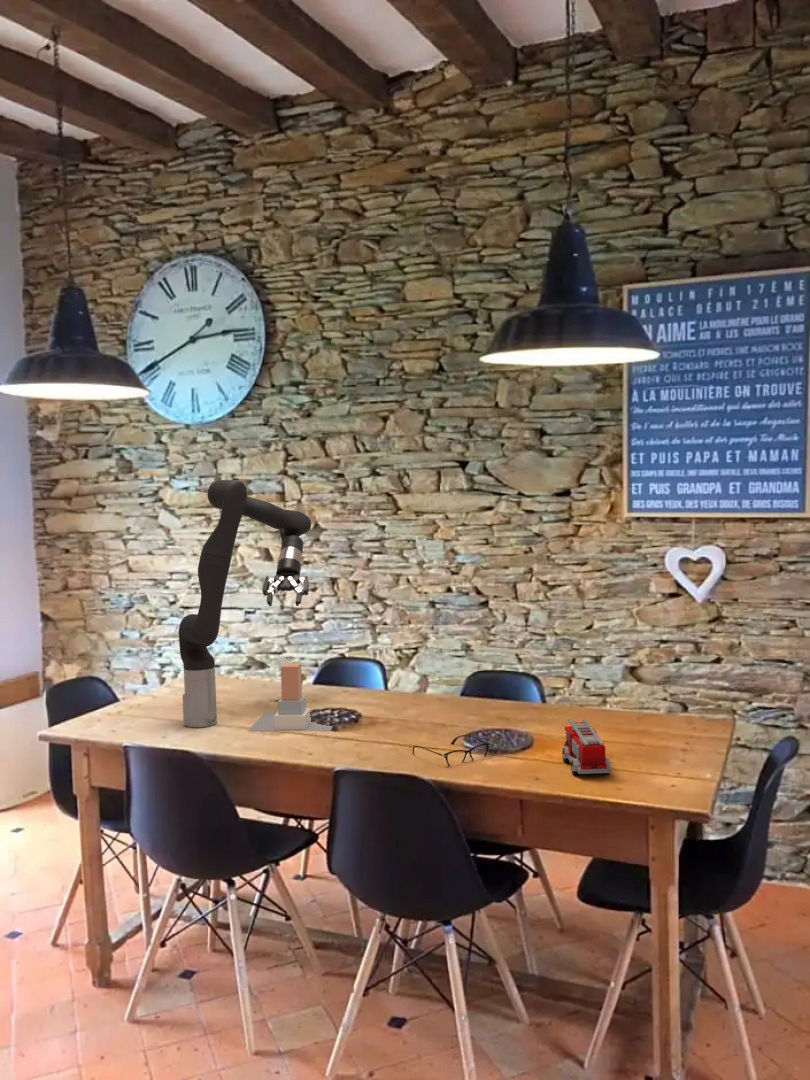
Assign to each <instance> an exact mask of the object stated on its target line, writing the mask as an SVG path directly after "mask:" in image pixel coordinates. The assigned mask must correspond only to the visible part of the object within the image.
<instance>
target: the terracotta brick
mask: <svg viewBox="0 0 810 1080" xmlns="http://www.w3.org/2000/svg"><path fill="white" fill-rule="evenodd" d="M280 680H281V681H280V682H281V683H280V686H281V697H282V701H299V700H300V698H301V697H302V696H303V692H302V691H303V689H302V687H303V685H302V683H303V682H302V663H300V662H299V663H297V662H293V663H283V664H282V665H281V666H280Z"/></svg>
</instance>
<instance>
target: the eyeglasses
mask: <svg viewBox="0 0 810 1080" xmlns="http://www.w3.org/2000/svg"><path fill="white" fill-rule="evenodd" d="M462 737H468V738H469V737H470V738H471V739H474V740H477V741H479V742H481V743H482V744H478V745H476V746H473V747H471V748H470V749H467V750H465V749H457V750H456V749H455V750H452V751H449V752H446V753H444V754H441V753H439V752H437V751H433V750H430V749H428V748H425V747H422V746H418V745H414V746H413V747H412V755H414V754H415V748H419V749H420V748H421V749H423V750H426V751H429V752H431V753H433V754H435V755H438V756H441V757H443V758H445V762H446V764H447V765H448V766H451V764H450V763H449V761H448V760H449V759H448V756H449V755H450V754H453V753H456V752H464V755H463V758H462V761H461V764H463V763H464V762H465V760H466V757H467V756H468V757H469V758H470V759H471V760H472V761H475V759H474V758H473V756H472V751H473V750H475V749H477V748H479V747H482V746H483V747H484V746H486V750H485V752H484V755H483V758H485V757H486V756H487V754H488V750H489V748H490V746H491V744H490V743H488V742H485V741H483V740H481V739H478V738H476V737H473V736H471V735H469V734H468V735H467V734H463V735H458V736H457V737H455V738H454V739H453V740H452V741H451V742H450V745H455V743H456V742H457V740H458V739H459V738H462ZM467 754H468V755H467Z"/></svg>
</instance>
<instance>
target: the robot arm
mask: <svg viewBox="0 0 810 1080" xmlns="http://www.w3.org/2000/svg"><path fill="white" fill-rule="evenodd" d="M207 499H208V501H209V503H210V504H211V506H213V507H214V508H216V509H218V510H221V512H220V517H219V520H218V523H217V525H216V527H215V528H214V530H213V531H212V532H211V534H210V536H208V538H207V539H206V541H205V543H204V544H203V547H201V552H200V555H199V557H200V558H199V561H198V567H197V577H198V584H199V589H200V602H199V603H200V604H199V606H198V612H197V614H195V613H191V614H188V615H185V616H184V617H183V618H182V619H181V621H180V623H179V626H178V644H179V654H180V659H181V661H182V664H183V683H184V684H183V686H184V693H183V694H182V717H183V718H182V719H183V727H190V728H206V727H211V726H214V725H216V724H217V723H218V713H217V711H218V710H217V686H216V685H217V684H216V663H215V662H216V661H215V657H214V656H213V655H212V654H211V653H210V652H209V650H208V647H210V646H212V644H214V643H215V642H216V640H217V638H218V635H219V633H220V632H219V631H220V626H221V625H220V624H221V615H222V607H223V599H224V595H225V591H226V590H225V589H226V584H227V579H228V575H229V571H230V568H231V563H232V557H233V553H234V547H235V542H236V538H237V534H238V530H239V526H240V523H241V519H242V517H243V516H245V517H248V518H250V519H252V520H254V521H256V522H259V523H262V524H263V525H265V526H268V527H270V528H273V529H274V530H279V534H280V540H281V547H280V552H279V556H278V561H277V565H276V566H277V567H276V572H275V576H274V577H269V576H265V578H264V581H263V586H262V589H261V590H262V594H263V596H264V597H265V596H266V603H267V605H268V607H272V606H273V600H274V596H275V595H276V594H278V593H280V592H285V591H287V592H292V591H294V593H295V594H296V596H295V601H294V602H295V605H296V607H299V605H301V604H302V597H303V596H308V595H309V589H310V581H309V576H308V575H305V576H304V577H300V576H301V570H302V564H303V550H304V541H303V539H302V538H301V536H303V535H305V534H307V533H308V532H309V531H310V530H311V528H312V522H311V520H310V519H311V518H309V516H308V515H307V514H305V513H304V512H301V511H299V510H298V511H297V510H291V509H284V508H282V507H280V506H278V505H276V504H273V503H271V502H268V501H265V500H261V499H258V498H254V497H250V496H249V495H248V489H247V487H246V485H245V483H244V482H243V481H241V480H238V479H219V480H216V481H213V482H212V483H211V484H209V487H208V489H207ZM300 583H302V584H301V585H303V588H302V589H301V588H300V587H299V584H300ZM270 586H271V587H270Z"/></svg>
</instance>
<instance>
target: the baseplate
mask: <svg viewBox="0 0 810 1080" xmlns="http://www.w3.org/2000/svg"><path fill="white" fill-rule="evenodd" d="M277 712H278V711H266V712H265V711H264V712H263V714H262V715H261V716H260V717H259V718H258V719H257V720H256V721H255V723H254V724H252V726H251V727H250V728H249V729H248V730H247V732H330V731H332V728H333V726H334V725H333V726H326V725H321V724H317V723H314V722H310V723H309V725H308V726H307V728H306V729H287V730H275V728H274V715H275V714H276V713H277Z"/></svg>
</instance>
